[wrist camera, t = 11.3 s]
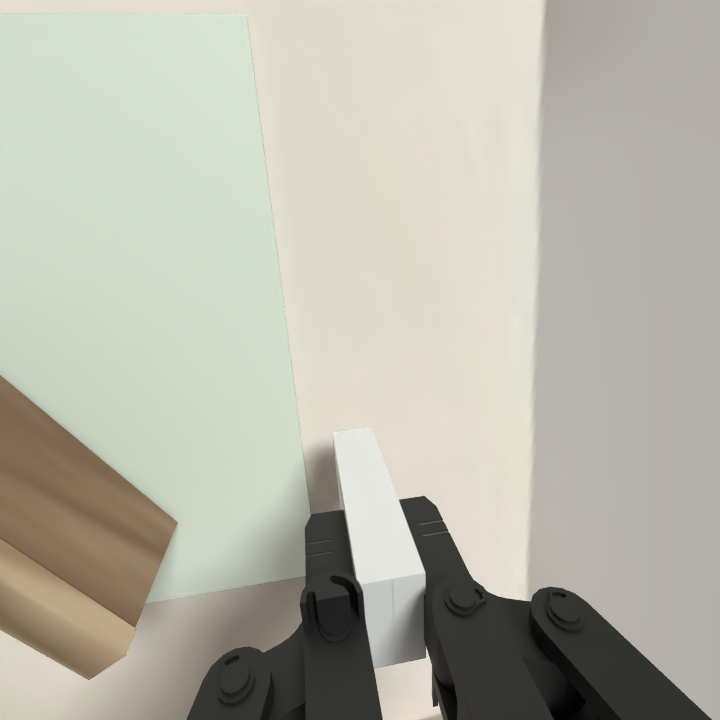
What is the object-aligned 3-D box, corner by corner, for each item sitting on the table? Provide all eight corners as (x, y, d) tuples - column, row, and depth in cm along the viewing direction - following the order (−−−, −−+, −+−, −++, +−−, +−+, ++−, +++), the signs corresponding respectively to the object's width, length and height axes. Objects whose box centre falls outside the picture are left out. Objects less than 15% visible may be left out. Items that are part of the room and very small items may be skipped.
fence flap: (-37, 340, 13) (-258, 417, 8) (179, 521, 16) (125, 655, 11) (-68, 365, 13) (-306, 455, 8) (154, 538, 17) (88, 680, 11)
